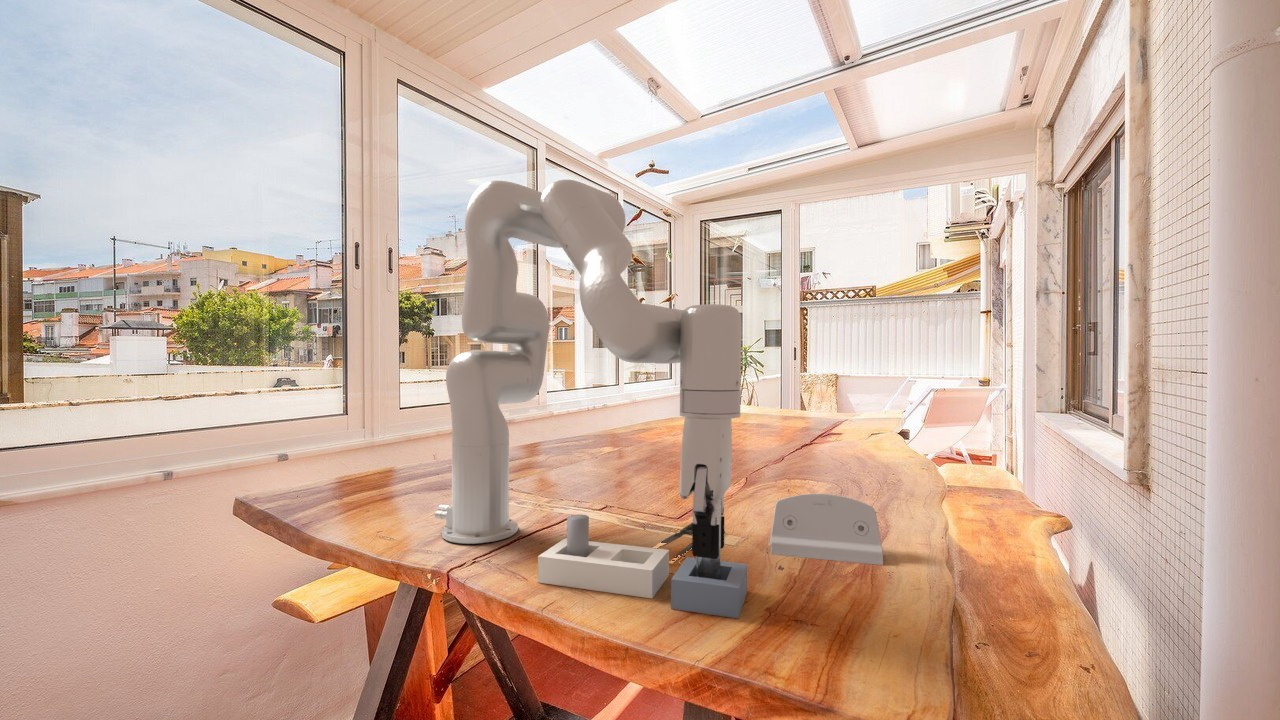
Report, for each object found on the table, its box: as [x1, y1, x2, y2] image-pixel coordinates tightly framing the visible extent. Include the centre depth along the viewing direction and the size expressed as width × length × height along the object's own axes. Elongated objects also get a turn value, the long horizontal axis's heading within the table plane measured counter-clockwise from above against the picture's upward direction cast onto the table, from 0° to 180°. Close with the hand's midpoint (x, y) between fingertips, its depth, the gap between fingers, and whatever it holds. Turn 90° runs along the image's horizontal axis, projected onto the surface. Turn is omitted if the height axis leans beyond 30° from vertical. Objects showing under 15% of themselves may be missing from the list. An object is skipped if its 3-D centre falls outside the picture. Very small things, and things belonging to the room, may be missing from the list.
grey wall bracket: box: [769, 493, 885, 566], centre depth 86 cm, size 17×5×10 cm, turn 73°
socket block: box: [670, 556, 748, 619], centre depth 68 cm, size 8×8×4 cm
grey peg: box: [695, 490, 722, 580], centre depth 68 cm, size 3×3×12 cm
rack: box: [537, 514, 670, 599], centre depth 74 cm, size 16×8×8 cm, turn 72°
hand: (708, 550), depth 68 cm, fingers closed on grey peg, 3 cm apart
